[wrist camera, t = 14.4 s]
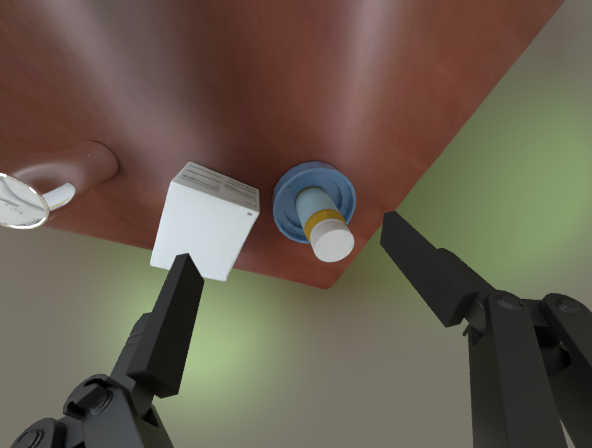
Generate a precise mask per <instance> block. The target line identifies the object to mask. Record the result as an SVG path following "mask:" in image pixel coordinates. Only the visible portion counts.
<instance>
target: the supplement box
mask: <svg viewBox="0 0 592 448" xmlns="http://www.w3.org/2000/svg"><path fill="white" fill-rule="evenodd" d="M259 213H260V208H259V190H258V189H256V188H254V187H251V186H249V185H246V184H244V183H242V182H239V181H237V180H234V179H232V178H230V177H227V176H225V175H222V174H220V173H218V172H215V171H213V170H210V169H208V168H205V167H203V166H201V165H198V164H196V163H193V162H191V161H189V162H188V163H187V164H186V165H185V166H184V167H183V169H182V170H181V171H180V172H179V173H178V174H177V175H176V177H175V178H174V179H173V180H172V181H171V184H170V187H169V191H168V194H167V198H166V202H165V206H164V210H163V214H162V218H161V222H160V226H159V230H158V234H157V238H156V241H155V245H154V249H153V253H152V257H151V262H150V266H154V267H159V268H163V269H168V270H170V268H171V266H172V264H173V262H174V259H175V257H176V255H180V254H185V253H189V255H190V256H191V258H192V260H193V262H194V263H195V265H196V267H197V269H198V270H199V272H200V274H201V276H202V277H206V278H210V279H215V280H220V281H226V280H227V278H228V275H229V273H230V271H231V269H232V267H233V265H234V263H235V261H236V258H237V256H238V254H239V252H240V250H241V248H242V246H243V244H244V242H245V240H246V238H247V236H248V234H249V232H250V230H251V228H252V226H253V224H254V222H255V220H256V218H257V216H258V215H259Z"/></svg>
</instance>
